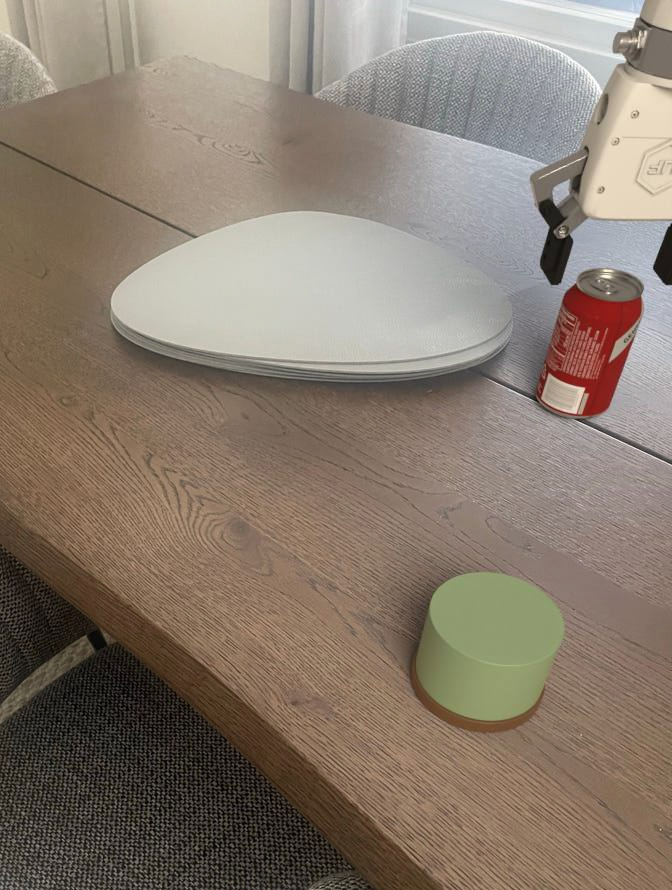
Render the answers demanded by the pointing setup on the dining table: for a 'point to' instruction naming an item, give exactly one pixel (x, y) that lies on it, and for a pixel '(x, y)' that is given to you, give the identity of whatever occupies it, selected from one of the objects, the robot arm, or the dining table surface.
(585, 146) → the robot arm
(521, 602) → the pedestal
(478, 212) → the dining table surface
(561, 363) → the soda can
